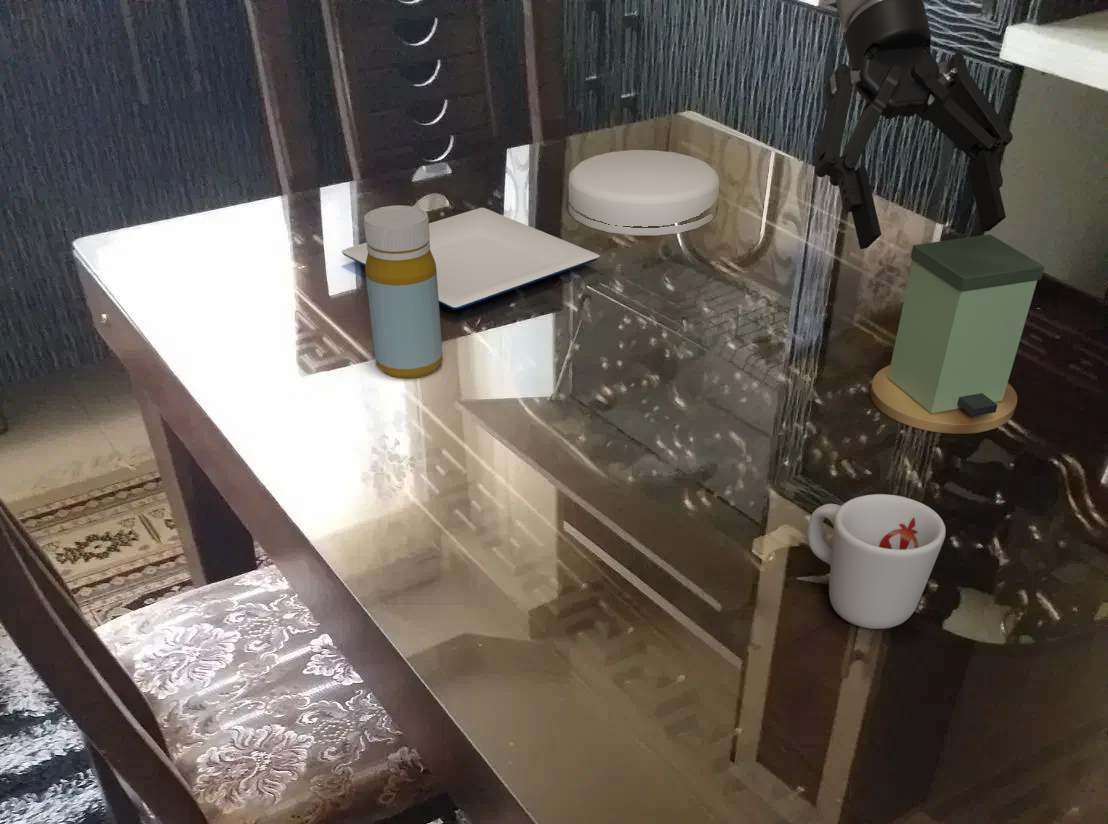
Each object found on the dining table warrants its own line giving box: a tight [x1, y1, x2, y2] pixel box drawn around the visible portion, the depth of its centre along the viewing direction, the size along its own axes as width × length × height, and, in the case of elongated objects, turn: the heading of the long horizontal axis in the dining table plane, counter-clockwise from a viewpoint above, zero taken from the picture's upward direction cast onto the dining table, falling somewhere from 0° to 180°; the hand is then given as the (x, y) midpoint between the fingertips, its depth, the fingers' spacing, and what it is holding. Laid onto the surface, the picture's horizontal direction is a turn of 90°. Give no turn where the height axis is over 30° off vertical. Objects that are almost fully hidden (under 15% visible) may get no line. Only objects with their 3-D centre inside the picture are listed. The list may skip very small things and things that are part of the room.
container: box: [567, 149, 720, 237], centre depth 152 cm, size 20×20×5 cm
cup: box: [807, 493, 947, 630], centre depth 87 cm, size 11×8×8 cm
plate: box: [341, 207, 601, 310], centre depth 138 cm, size 22×22×2 cm
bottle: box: [363, 205, 443, 380], centre depth 115 cm, size 7×7×15 cm
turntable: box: [869, 364, 1018, 435], centre depth 114 cm, size 14×14×1 cm
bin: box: [888, 234, 1045, 416], centre depth 108 cm, size 11×8×13 cm
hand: (933, 233), depth 110 cm, fingers open, 13 cm apart
